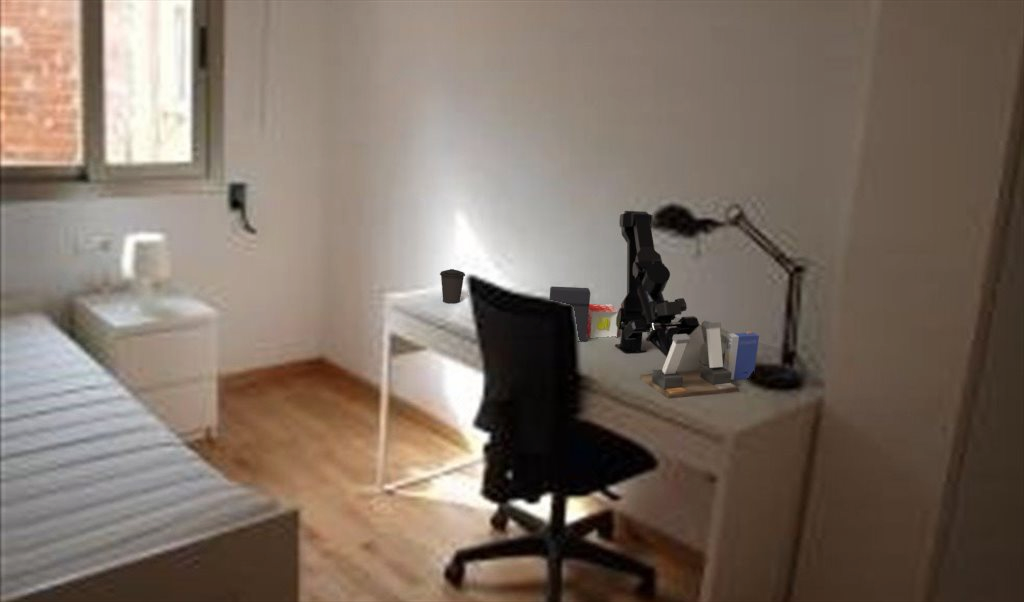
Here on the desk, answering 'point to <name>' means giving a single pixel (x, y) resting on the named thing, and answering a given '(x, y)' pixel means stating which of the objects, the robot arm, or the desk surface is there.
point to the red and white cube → (602, 320)
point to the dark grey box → (575, 305)
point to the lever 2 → (714, 344)
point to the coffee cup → (452, 285)
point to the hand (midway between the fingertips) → (671, 358)
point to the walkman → (741, 354)
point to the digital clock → (704, 348)
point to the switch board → (691, 382)
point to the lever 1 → (675, 353)
